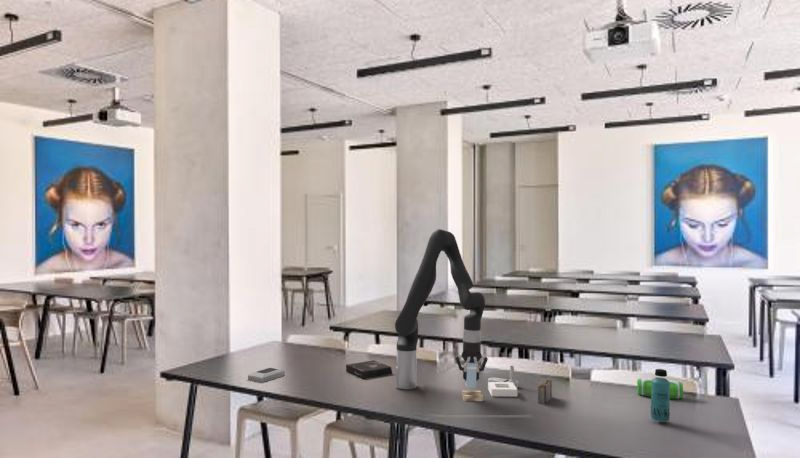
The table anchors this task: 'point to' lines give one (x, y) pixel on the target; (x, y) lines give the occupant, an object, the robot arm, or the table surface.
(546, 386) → the marbled rust block
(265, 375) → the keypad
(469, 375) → the plug
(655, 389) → the beverage bottle
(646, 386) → the speaker
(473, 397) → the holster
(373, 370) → the portable cd player
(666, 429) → the table surface
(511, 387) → the socket
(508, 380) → the electronic device
